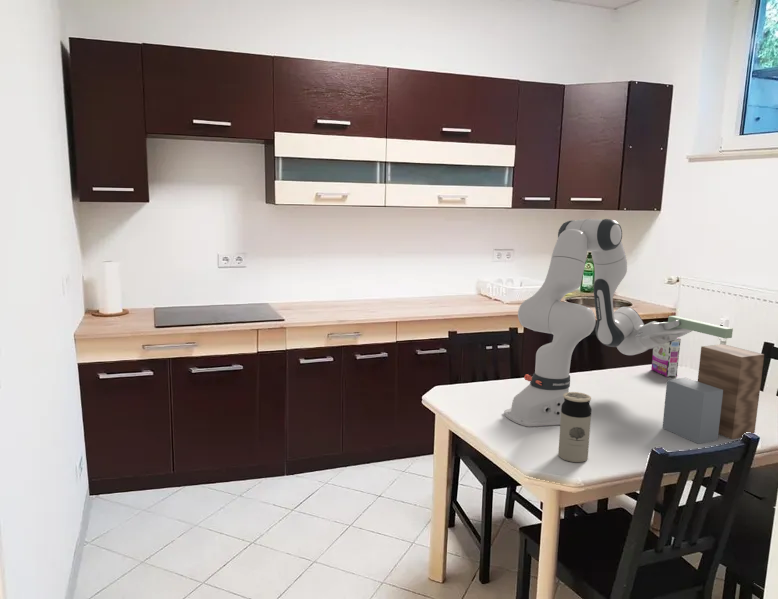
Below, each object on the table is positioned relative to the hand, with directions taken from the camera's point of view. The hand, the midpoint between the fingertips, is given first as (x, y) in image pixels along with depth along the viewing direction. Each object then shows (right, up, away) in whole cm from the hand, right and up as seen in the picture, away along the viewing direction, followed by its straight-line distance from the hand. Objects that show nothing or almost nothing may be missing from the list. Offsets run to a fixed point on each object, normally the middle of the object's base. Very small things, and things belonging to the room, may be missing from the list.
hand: (684, 321), depth 200 cm
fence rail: (+2, -3, -5) cm, 6 cm away
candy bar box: (+17, -24, +52) cm, 59 cm away
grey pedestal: (-6, -35, -15) cm, 38 cm away
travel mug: (-48, -37, -33) cm, 69 cm away
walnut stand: (+7, -34, -10) cm, 36 cm away
